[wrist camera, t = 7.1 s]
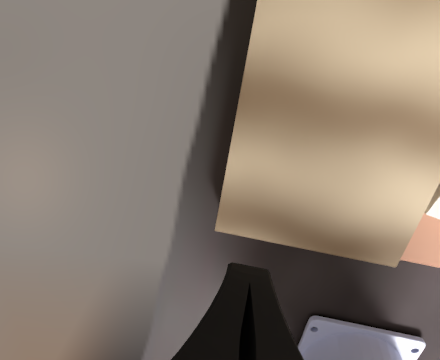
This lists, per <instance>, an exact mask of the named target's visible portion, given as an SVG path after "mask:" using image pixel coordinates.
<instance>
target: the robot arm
mask: <svg viewBox="0 0 440 360" xmlns="http://www.w3.org/2000/svg"><path fill="white" fill-rule="evenodd" d="M313 327H315V328H313ZM425 346H426V344H425V342H424V339H422V338H421V337H417V336H412V335H408V334H403V333H398V332H393V331H388V330H384V329H379V328H374V327H369V326H364V325H360V324H355V323H350V322H345V321H340V320H336V319H331V318H326V317H321V316H312V317H310V318H309V320H308V322H307V325H306V327H305V330H304V332H303V335H302V337H301V340H300V342H299V345H298V347H297V345H296V343H295V341H294V338H293V336H292V334H291V332H290V329H289V327H288V325H287V322H286V320H285V317H284V315H283V312H282V310H281V307H280V305H279V302H278V299H277V296H276V293H275V290H274V287H273V283H272V279H271V275H270V272H269V271H268V270H266V269H261V268H256V267H252V266H247V265H242V264H237V263H230V264H228V267H227V272H226V275H225V278H224V280H223V282H222V285H221V287H220V289H219V291H218V293H217V295H216V296H215V298H214V300H213V302H212V304H211V306H210V307H209V309H208V310H207V312H206V314H205V315H204V317H203V318H202V320H201V321H200V323H199V324H198V326H197V327H196V329H195V330H194V331H193V333H192V334H191V336H190V337H189V338H188V340H187V341H186V342H185V343H184V345H183V346H182V347H181V349H180V350H179V351H178V352H177V353H176V355H175V356H174V357H173V358H172V359H171V360H417V359H418V357H419V356H420V354H421V352H422V351H423V349H424V348H425Z"/></svg>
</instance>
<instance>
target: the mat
mask: <svg viewBox="0 0 440 360" xmlns="http://www.w3.org/2000/svg"><path fill="white" fill-rule="evenodd" d="M400 260H404V261H409V262H414V263H418V264H423V265H428V266H433V267H438V268H440V219H437V218H434V217H432V216H429V215H426V214H425V212H424V214H423V216H422V218H421V220H420V222H419V224H418V226H417V228H416V230H415V232H414V234H413V236H412V238H411V240H410V241H409V243H408V245H407V247H406V249H405V251H404V253H403V255H402V257H401V259H400Z"/></svg>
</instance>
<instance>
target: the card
mask: <svg viewBox="0 0 440 360" xmlns="http://www.w3.org/2000/svg"><path fill="white" fill-rule="evenodd" d="M425 214H426V215H429V216H432V217H434V218H437V219H440V183H439V185H438V187H437V189H436V191H435V193H434V195H433V197H432V199H431V201H430V203H429V205H428V207H427V209H426V210H425Z"/></svg>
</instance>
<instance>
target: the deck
mask: <svg viewBox="0 0 440 360" xmlns="http://www.w3.org/2000/svg"><path fill="white" fill-rule="evenodd" d="M439 183H440V0H257V5H256V10H255V16H254V21H253V26H252V32H251V37H250V43H249V48H248V53H247V59H246V64H245V70H244V75H243V80H242V86H241V91H240V97H239V102H238V107H237V113H236V118H235V124H234V129H233V134H232V140H231V145H230V151H229V156H228V161H227V167H226V172H225V178H224V183H223V188H222V194H221V199H220V205H219V210H218V215H217V221H216V226H215V231H218V232H223V233H228V234H233V235H238V236H243V237H248V238H253V239H258V240H263V241H268V242H272V243H277V244H282V245H287V246H292V247H297V248H302V249H307V250H312V251H317V252H322V253H327V254H332V255H337V256H341V257H346V258H351V259H356V260H361V261H366V262H371V263H376V264H381V265H386V266H391V267H397V265H398V263H399V261H400V259H401V257H402V255H403V253H404V251H405V249H406V247H407V245H408V243H409V241H410V240H411V238H412V236H413V234H414V232H415V230H416V228H417V226H418V224H419V222H420V220H421V218H422V216H423V214H424V212H425V210H426V209H427V207H428V205H429V203H430V201H431V199H432V197H433V195H434V193H435V191H436V189H437V187H438V185H439Z"/></svg>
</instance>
